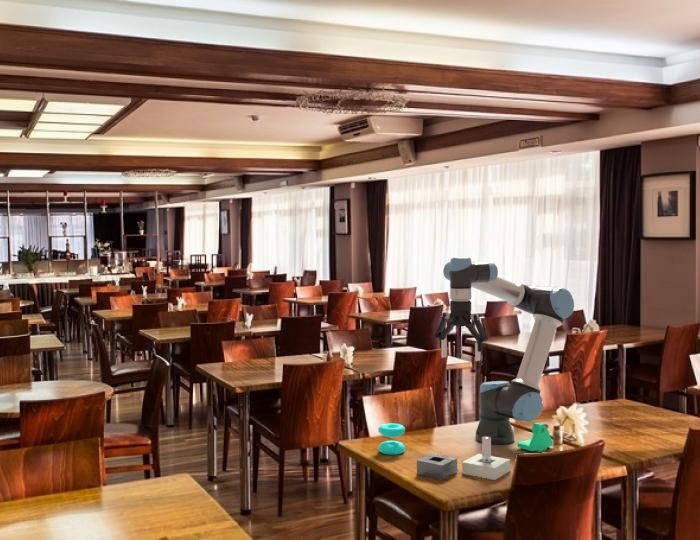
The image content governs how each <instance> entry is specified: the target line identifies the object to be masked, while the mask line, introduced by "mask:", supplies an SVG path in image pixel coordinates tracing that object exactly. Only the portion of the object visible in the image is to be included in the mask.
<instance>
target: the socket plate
mask: <svg viewBox="0 0 700 540" xmlns="http://www.w3.org/2000/svg"><path fill="white" fill-rule="evenodd" d="M461 463H462V464H461V465H462V466H461V467H462V469H461V472H462V474H463V475H467V476H472V477H476V476H477V477H478V478H481V477H482V478H483V479H486V478H487V480H493V481H496V480H498V479H499V478H501V477H502V476H504V475H506V474H507V473H509V472H510V471H511V459H510V458H504V457H498V456H493V455H491V463H490V464H488V463H483V462H482V453H477V454H475V455H473V456H471V457H470V458H468V459H466V460H464V461H462V462H461Z"/></svg>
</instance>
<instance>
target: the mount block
mask: <svg viewBox="0 0 700 540" xmlns="http://www.w3.org/2000/svg"><path fill="white" fill-rule="evenodd" d="M457 473H458V458H457V457H453V456H449V455H443V454H436V453H432V452H431V453H429V454H427V455H425V456H423V457H421V458H419V459H416V476H420V477H425V478H429V479H430V478H431V479H435V480H439V481H444V480H446V479H448V478H450V477H452V476H453V475H456V474H457Z"/></svg>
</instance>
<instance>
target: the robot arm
mask: <svg viewBox="0 0 700 540" xmlns="http://www.w3.org/2000/svg"><path fill="white" fill-rule="evenodd" d="M442 273H443V276H444V278H445V279H446V280H447V281H449V283H450V284H449V285H450V286H449V293H450V294H449V296H450V297H449V298H450V301H449V306H450V307H449V310H450V313H449V312H443V313H442V314H441V315H442V316H441V320H440V323H439V324H438V327H437V329H436V331H435V334H434V337H435V338H437V339H438V340H439V348H440V350H441V353H440V354H441V356H440V357H441V358H442V359H444V358H447V357H448V339H446V338H447V336H448V334H450V332H451V331H452V330H453V329H454V327H458V326H460V327H465V328H466V329H467V330H468V331H469V333H471V335H472V336H473V338H474V339H475V340H476V342H475V343H474V355H475V356H474V361H475V362H478V361H481V357H482V356H481V355H482V354H481V352H483V350H484V346H483V344H484V342H486V341H488V340H489V338H488V336H487V334H486V331H485V329H484V326H483V324H482V322H481V317H480V314H479V313H477V314H472V301H471V299H472V288H473V289H476V290H479V291H481V292H483V293H485V294H488V295H492V296H493V297H496V298H498V299H500V300H503V301H506V303H507V304H508V305H510V306H512V307H513V308H517V309H518V310H520V311H523V312H526V313H528V314H530V315H532V318H533V319H534V323H533V326H532V330H531V332H530V336H529V338H528V342H527V345H526V348H525V351H524V354H523V356H522V357H523V358H522V360H521V363H520V366H519V370H518V372H517V376H516V378H514V379H512V380H511V381H507V380H496V381H494V380H492V381H486V382H482V383H481V384H480V387H479V422H478V424H477V427H476V431H475V440H476V441H478V442H479V443H482V437H491V445H505V444H511V443H513V442H514V441H515V434H514V430H513V427H512V424H511V419H512V420H515V421H517V422H524V423H530V422H533V421H534V420H536V419H537V418H538V417H539V416H541V413H542V411H543V407H544V402H543V400H544V399H543V398H542V396H541V391H542V390H541V389H540V386H539V384H540V381H541V378H542V375H543V371H544V369H545V365H546V364H547V360H548V359H547V358H548V356H549V353H550V351H551V347H552V343H553V341H554V338H555V337H554V336H555V334H556V331H557V328H560V327H561V326H562V325H563V324H564V323H563V322H564V319H568V318H569V317H571V316H572V315H573V313H574V308H575V302H574V298H573V295H572V293H571V292H570V291H569V289H568V288H567V289H566V288H564V287H558V286H543V285H542V286H540V285H527V284H523V283H520V282H514V283H513V282H511V281H509V280H506V279H504V278H501V277H500V276H498V275H499V271H498V267H497V265H496V263H494V262H492V261H472V259H471V257H469V256H468V257H467V256H464V257H463V256H462V257H461V256H460V257H457V256H456V257H454V256H453V257H451V259H450V261H448V262H446V263H445V264H444V267H443V272H442ZM448 319H450V322H448V321H449V320H448ZM471 320H472V321H473V322H472V321H471ZM447 322H448V324H447ZM473 323H474V324H473ZM446 325H447V326H446ZM474 325H475V327H476V328H475V327H474Z"/></svg>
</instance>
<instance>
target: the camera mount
mask: <svg viewBox="0 0 700 540" xmlns="http://www.w3.org/2000/svg"><path fill="white" fill-rule="evenodd" d="M531 432H532V438H530V439H527V440H526V439H525V440H522V441H519V442H516V443H517V444H516V447H517V448H519V449H523V450H526V451H530V452H537V453H540V452H543V450H544V451H547V450H548V449H547V448H549V447H553V445H554V441H553V439H552V437H551V435H550V433H549V430H548V428H547V426H546V424H544V423H542V422H541V423H539V422H534V423H533V424H532V427H531Z"/></svg>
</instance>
